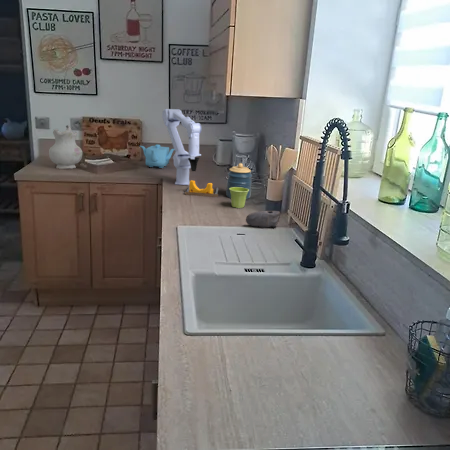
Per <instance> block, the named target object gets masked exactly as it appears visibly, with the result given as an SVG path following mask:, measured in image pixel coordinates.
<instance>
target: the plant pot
mask: <svg viewBox="0 0 450 450" xmlns="http://www.w3.org/2000/svg"><path fill="white" fill-rule="evenodd" d="M229 190H230V193H231V198H230V201H231V207H232V208H236V209H242V208H244V207H245V204H246V200H247V199H246V196H247V193H248V191H249V189H246V188H242V187H232V188H229Z"/></svg>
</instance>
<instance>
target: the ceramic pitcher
mask: <svg viewBox="0 0 450 450" xmlns="http://www.w3.org/2000/svg"><path fill="white" fill-rule="evenodd" d="M65 127H66V129H65V131H63V130H62V131H59V128H54V129H53V130H52V131H53V132H52V134H53V136H54V141H55V142H54V144H53V145H52V146H50V148H49V149H48V156H49V159H50V161H51V162H52V163H53V164H55V165H56V166H55V167H56V169H57V168H59V169H58V170H65V169H67V170H68V169H71V170H73V169H75V168H76V167H77V166H76V164H78V163H80V162H81V160H82V158H83V150H82V148H81V147H80V146H79V145H77V142H76V137H77V136H78V133H77V132H76V131H75V132H73V131H72V128H71V126H70V125H69V124H67V125H65Z"/></svg>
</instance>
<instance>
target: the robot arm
mask: <svg viewBox="0 0 450 450" xmlns="http://www.w3.org/2000/svg"><path fill="white" fill-rule="evenodd" d="M161 115H162V116H161V118H162V121H163V124H164V126H165V127H166V128H167V133H168V135H169V138H170V141H171V144H172V147H173V149H174V151H175V153H174V155H173V156H172V159H173V166H174V167H175V168H176V177H175V179H176V181H175V182H174V185H178V186H179V185H182V186H183V185H184V186H189V183H190V181H191V180H190V169H191V172H196V171H197V167H198V164H199V163H198V162H199V160H200V157H201V156H202V154H201V153H200V134H201V133H202V131H203V129H202V128H203V127H202V124H201V123H200V122H195V120H192V118H191V117H190V116H185V115H184V114H183V112H182V110H181V109H179V108H176V109H175V108H164V109H162V113H161ZM180 124H181V126H182V127H183V128H184V129H185V130H186V133H187V137H188V151H186V150H185V147H184V145H183V142H182V140H181V137H180V133H179V132H178V128H177V127H179V125H180ZM199 156H200V157H199Z"/></svg>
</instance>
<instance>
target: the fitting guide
mask: <svg viewBox="0 0 450 450" xmlns="http://www.w3.org/2000/svg"><path fill="white" fill-rule="evenodd" d="M218 193H219V187H216V189H215V193H213V194H212V193H198V192H189V186H188V187H187V190H186V191H184V194H185V195H186V196H193V197H194V196H195V197H196V196H197V197H210V198H218V197H219V194H218Z"/></svg>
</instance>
